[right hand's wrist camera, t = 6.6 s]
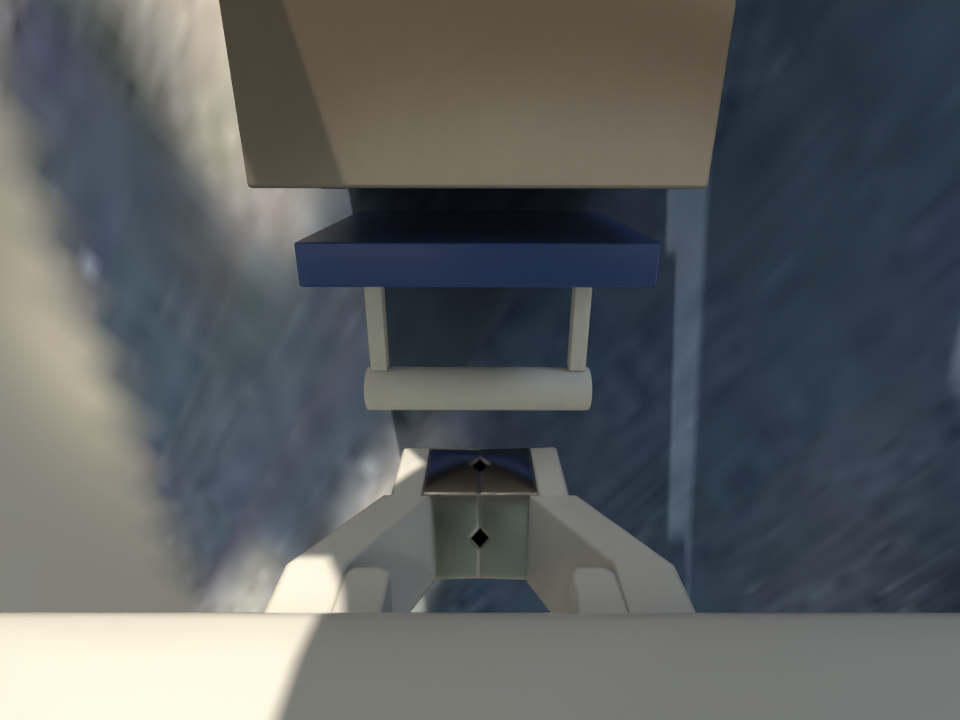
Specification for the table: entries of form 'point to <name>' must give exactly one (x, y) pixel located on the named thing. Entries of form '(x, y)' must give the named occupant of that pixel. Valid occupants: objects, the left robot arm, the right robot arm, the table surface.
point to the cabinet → (478, 92)
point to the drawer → (477, 263)
